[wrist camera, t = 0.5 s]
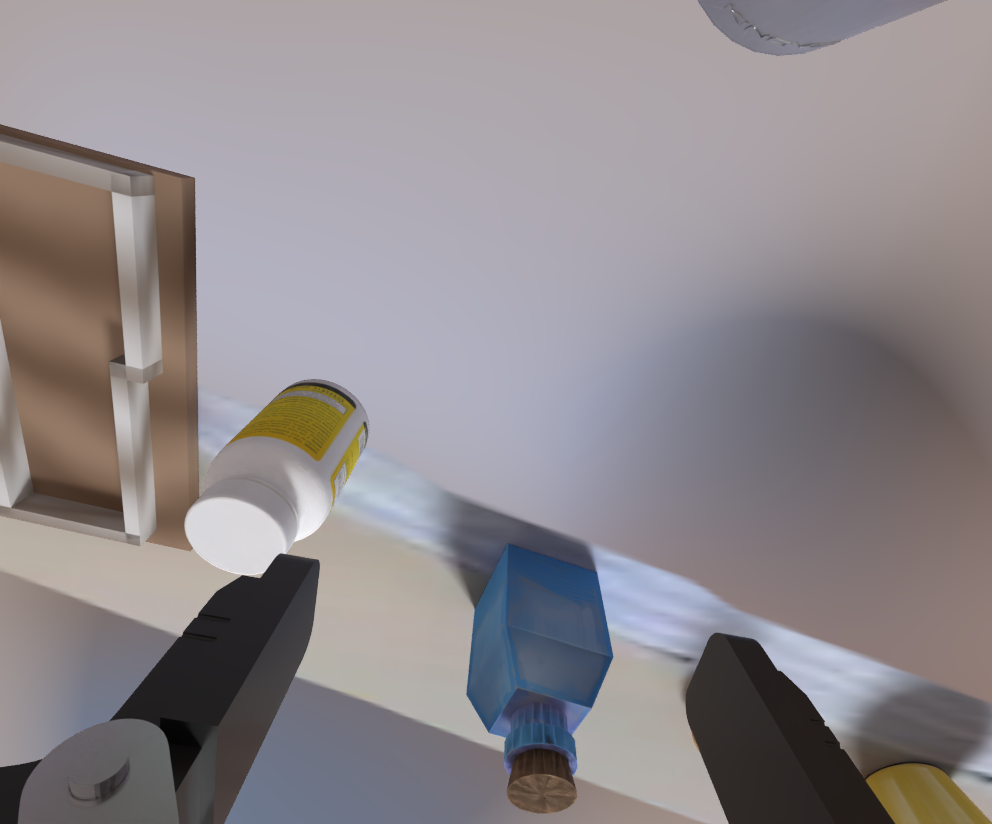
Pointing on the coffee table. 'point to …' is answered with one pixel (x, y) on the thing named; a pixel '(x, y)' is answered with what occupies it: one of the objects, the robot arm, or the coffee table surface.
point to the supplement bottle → (278, 477)
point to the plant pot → (923, 796)
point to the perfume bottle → (538, 670)
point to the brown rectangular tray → (97, 342)
